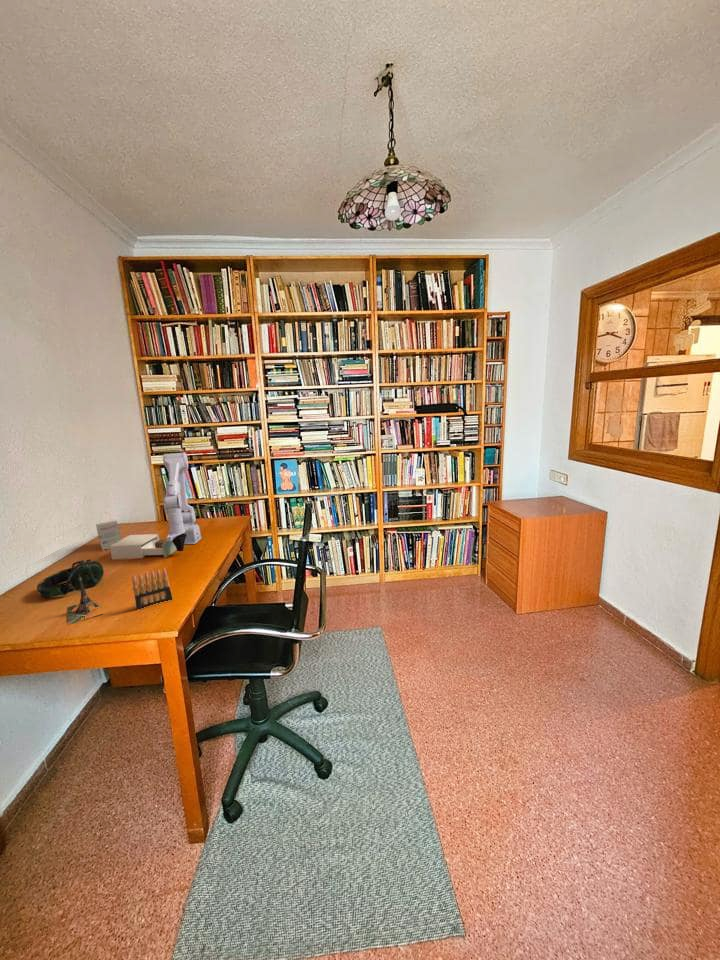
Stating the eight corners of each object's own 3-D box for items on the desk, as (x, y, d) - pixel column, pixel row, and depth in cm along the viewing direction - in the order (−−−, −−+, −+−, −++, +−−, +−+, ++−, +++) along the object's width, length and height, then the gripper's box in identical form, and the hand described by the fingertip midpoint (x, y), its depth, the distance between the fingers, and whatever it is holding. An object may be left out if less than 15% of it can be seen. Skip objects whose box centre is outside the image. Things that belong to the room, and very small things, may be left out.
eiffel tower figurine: (67, 608, 126) (58, 572, 123) (102, 597, 132) (95, 563, 129) (66, 627, 114) (56, 588, 111) (105, 615, 120) (97, 577, 117)
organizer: (160, 546, 178) (158, 533, 177) (142, 558, 164) (139, 545, 163) (132, 547, 179) (130, 534, 178) (112, 559, 165) (109, 546, 164)
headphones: (99, 559, 152) (39, 582, 140) (92, 544, 142) (26, 568, 130) (111, 586, 147) (49, 613, 136) (104, 574, 137) (37, 601, 126)
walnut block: (169, 547, 173) (167, 539, 172) (164, 550, 169) (163, 542, 168) (161, 547, 173) (159, 539, 172) (156, 551, 169) (154, 542, 168)
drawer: (182, 545, 177) (180, 533, 176) (166, 557, 164) (163, 544, 162) (154, 546, 178) (152, 534, 177) (136, 558, 165) (133, 545, 163)
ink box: (120, 541, 189) (116, 519, 186) (122, 545, 182) (118, 523, 180) (100, 546, 183) (95, 523, 181) (102, 550, 177) (97, 527, 174)
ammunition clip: (172, 597, 128) (166, 565, 126) (172, 600, 126) (167, 567, 124) (136, 607, 123) (130, 574, 120) (136, 610, 121) (130, 576, 119)
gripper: (175, 517, 171) (180, 544, 173) (157, 527, 156) (162, 557, 159) (190, 516, 170) (195, 544, 173) (173, 527, 156) (178, 557, 159)
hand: (180, 550), depth 166 cm, fingers closed
